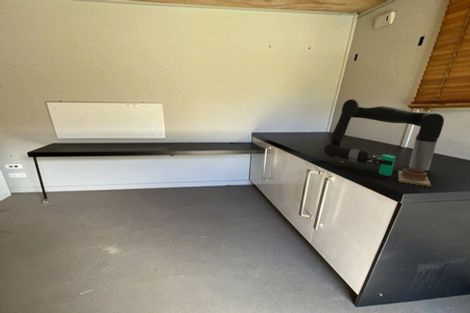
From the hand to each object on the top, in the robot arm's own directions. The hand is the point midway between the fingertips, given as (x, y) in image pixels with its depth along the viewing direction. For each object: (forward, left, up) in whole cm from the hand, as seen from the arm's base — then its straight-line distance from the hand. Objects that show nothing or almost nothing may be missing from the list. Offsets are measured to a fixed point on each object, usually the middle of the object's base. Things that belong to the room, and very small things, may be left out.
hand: (393, 162), depth 110 cm
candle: (0, -3, -7) cm, 8 cm away
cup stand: (0, +9, -7) cm, 12 cm away
